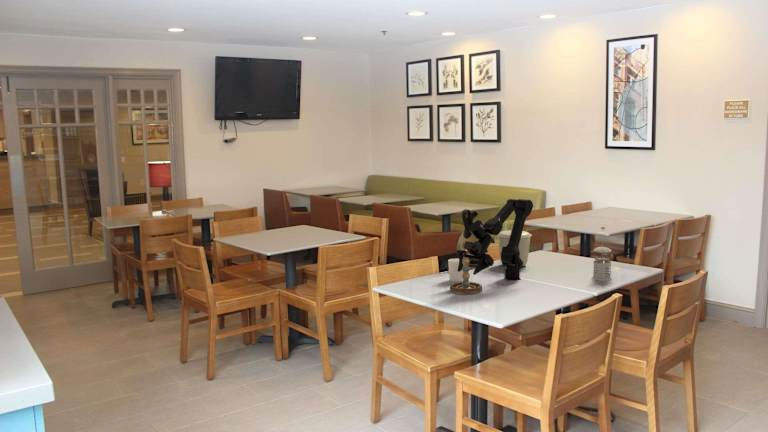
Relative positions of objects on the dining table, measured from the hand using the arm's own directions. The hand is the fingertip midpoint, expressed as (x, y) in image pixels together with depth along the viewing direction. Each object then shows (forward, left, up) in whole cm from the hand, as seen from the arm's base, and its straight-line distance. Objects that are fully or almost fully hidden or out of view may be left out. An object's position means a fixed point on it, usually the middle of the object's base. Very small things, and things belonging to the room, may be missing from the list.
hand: (466, 272), depth 299 cm
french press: (-68, -15, -8) cm, 70 cm away
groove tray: (0, 0, -8) cm, 8 cm away
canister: (-34, -50, -8) cm, 61 cm away
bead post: (0, 0, -7) cm, 7 cm away
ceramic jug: (-12, -56, -8) cm, 58 cm away
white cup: (+1, -20, -8) cm, 22 cm away
